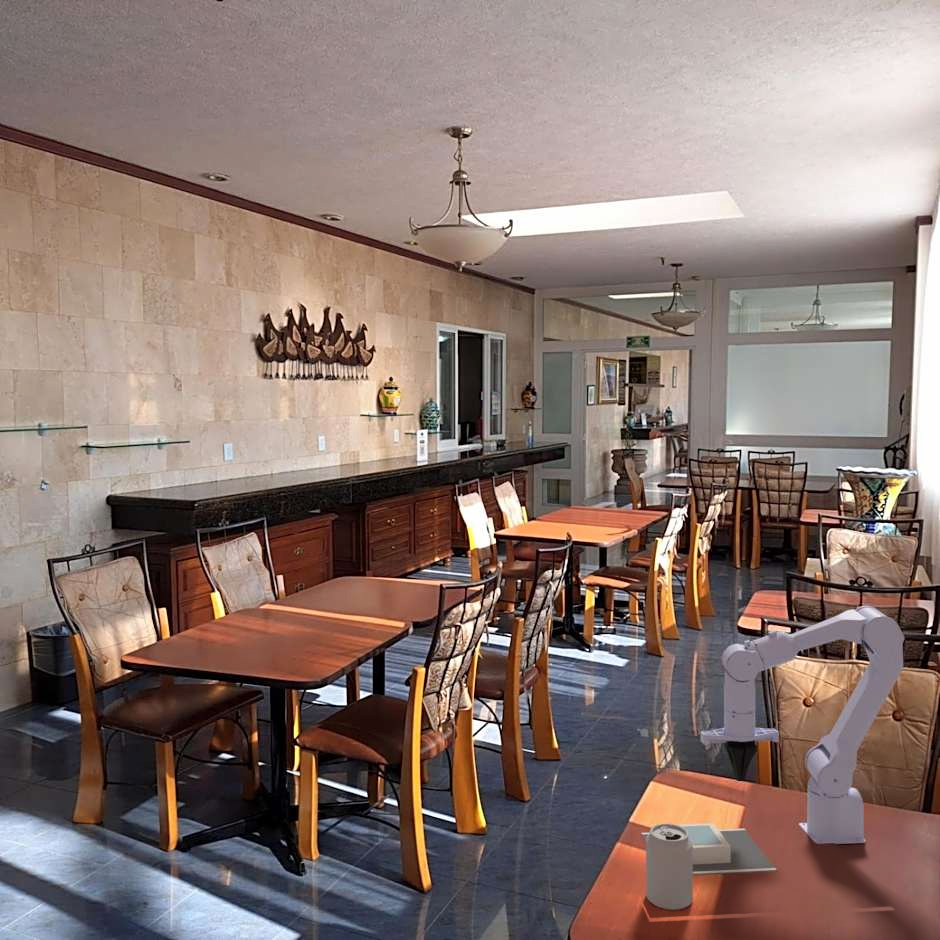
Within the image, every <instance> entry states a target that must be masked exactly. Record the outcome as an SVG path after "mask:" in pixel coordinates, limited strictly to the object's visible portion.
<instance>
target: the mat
mask: <svg viewBox="0 0 940 940" xmlns="http://www.w3.org/2000/svg"><path fill="white" fill-rule="evenodd" d="M718 829H719V831H720V832H721V834H722V835H723V836H724V838H725V839H726V841H727V842H728V843H729V845H730V846H731V863H714V864H693V876H706V875H708V876H709V875H724V874H725V875H727V874H728V875H729V874H749V873H752V874H753V873H769V872H770V873H773V872H776V873H777V872H778V870H777V868H776V867H775V866H774V865H773V864H772V862H771V861H770V860H769V858H768V857H767V856H766V855H765V853H764V852H763V851H762V849H761V848H760V847H759V846H758V844H757V843H756V842H755V840H753V838H752V837H751V835H750V834H749V833H748V832H747V830H746V829H745V828H744V827H743V828H718ZM640 834H641V836H642V838H643V840H644V842H645V843H646V838H647V836H648V835H649V834H650V831H649V832H640Z"/></svg>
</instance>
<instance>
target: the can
mask: <svg viewBox="0 0 940 940" xmlns="http://www.w3.org/2000/svg"><path fill="white" fill-rule="evenodd" d="M649 829H650V830H649V832H650V834H649V835H648V836H647V838H646V842H645V896H646V898H647V900H648V901H649V902H650V903H651V904H652V905H654V906H656V907H657V908H660V909H663V910H668V911H669V910H670V911H678V910H681V909H682V910H683V909H685V908H687V907H689V906H690V905H691V903H693V899H694V897H693V895H694V893H693V890H694V889H693V887H694V882H693V881H694V880H693V879H694V877H693V876H694V875H693V842H692V840H691V838H690V837H689V833H688V831H687V830H686V829H684V828H683V827H681V826H678V824H674V823H658V824H656V825H653V826H652V827H650V828H649Z"/></svg>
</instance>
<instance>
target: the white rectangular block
mask: <svg viewBox="0 0 940 940" xmlns="http://www.w3.org/2000/svg"><path fill="white" fill-rule="evenodd" d="M677 825H678V826H681V827H683V828H684V829H686V830H687V831H688V833H689V837H690V838H691V840H692V842H693V864H714V863H731V846H730V845H729V843H728V842H727V841H726V839H725V838H724V836H723V835H722V834H721V832H720V831H719V829H720V828H718V827H717V826H716V824H715V823H714V822H710V823H706V822H705V823H685V824H684V823H683V824H682V823H681V824H677Z"/></svg>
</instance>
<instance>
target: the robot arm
mask: <svg viewBox="0 0 940 940" xmlns="http://www.w3.org/2000/svg"><path fill="white" fill-rule="evenodd" d="M767 633H768V635H765V636H763V637H759V638H757V639H753V640H751V641H750V639H747V640H744V641H743V643H744V644H743V643H742V644H740V643H734V644H731V645H729V646H727V647H726V648H725V650H724V651H723V653H722V656H720V662H721V664H722V665H723V667H724V669H725V670H724V684H723V727H721V728H715V729H712V730H704V731H702V730H701V731H700V743H702V745H704V746H708V745H710V744H722V745H723V746H724V749H725V751H726V752H727V755H728V758H729V761H730V764H731V767H732V772H733V778H734V779H735V780H736V781H737V782H745V781H746V777H747V774H748V769H749V767H750V764H751V761H752V760H753V758H754V757H755V755H756V753H757V751H758V745H757V744H756V742H773V743H779V742H780V736H779V735H780V732H779V731H778V730H777V729H775V728H767V727H765V728H762V727H756V683H755V682H756V680H755V679H756V677H757V676H758V674H759V673H760V672H763V671H767V670H768V669H769V670H770V669H771V668H774V667H778V666H781V665H784V664H787V663H789V662H792V661H794V660H795V658H796V657H797V655H798V653H799V652H800V651H804V650H807V649H812V648H814V647H817V646H818V647H819V646H822V645H824V644H828V643H831V642H836V641H838V640H844V641H847V642H851V643H855V644H859V645H863V647H864V650H865V653H866V655H867V658H868V660H869V662H868V664H867V667H866V669H865V671H864V672H863V674H862V676H861V677H860V679H859V681H858V683H857V684H856V687H855V688H854V690H853V692H852V694H851V696H850V697H849V699H848V701H847V703H846V704H845V706H844V708H843V710H842V711H841V714H840V715H839V717H838V719H837V720H836V722H835V724H834V726H833V727H832V729H831V731H830V733H829V734H827V735H825V736H822V737H821V738H820V740H819V742H818V743H816V745H815V746H814V747H812V748H810V749H809V750H808V752H807V753H806V754H805V758H804V764H805V768H806V770H807V771H808V772H809V773H810V777H809V779H808V782H807V796H806V797H807V801H806V802H807V807H806V808H807V809H806V812H807V815H806V816H807V817H806V821H807V822H799V823H798V826H799V827H800V828H801V829H802V830H803V831H804V832H805V833H806V835H808V837H809V838H811V840H812V841H813V842H814V843H815V844H818V845H819V844H820V845H821V844H835V845H844V844H845V845H846V844H864V843H866V839H865V838H864V825H865V823H864V818H865V815H864V814H865V812H864V810H865V809H864V802H863V799H862V796H861V794H860V793H861V792H859V790H858V789H857V788H855V787H854V786H853V787H852V785H853V779H854V776H853V775H854V772H855V770H856V768H857V765H858V761H857V760H858V759H857V758H858V756H857V755H858V750H859V748H860V746H861V744H862V742H864V738H865V737H866V736H867V733H868V732H869V730H870V728H871V727H872V724H874V721H875V719H876V718H877V716H878V715H879V712H880V710H881V709H882V707H883V705H884V704H885V702H886V700H887V698H888V697H889V694H890V692H891V691H892V690H893V688H894V686H895V684H896V682H897V681H898V678H899V677H900V675H901V673H902V671H903V668H904V651H903V650H904V649H903V648H904V647H903V646H904V645H903V643H904V641H905V639H906V638H905V635H904V634H903V632H902V630H901V627H900V626H899V623H898V622H897V621H895V620H894V619H893V618H891V617H889V616H887V615H886V614H884V613H882V612H881V611H880V610H879V609H878V608H876V607H874V606H871V605H861V606H859V607H857V608H856V609H854V608H853V609H847V610H846V611H843V612H841V613H840V614H837V615H836V616H833V617H830V618H827V619H825V620H823V621H820V622H817V623H815V624H813V625H810V626H808V627H805V628H803V629H801V630H798V631H795V632H794V633H788V632H786V631H783V630H780V631H779V630H778V631H776V630H775V629H772V630H769V631H768V632H767Z"/></svg>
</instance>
